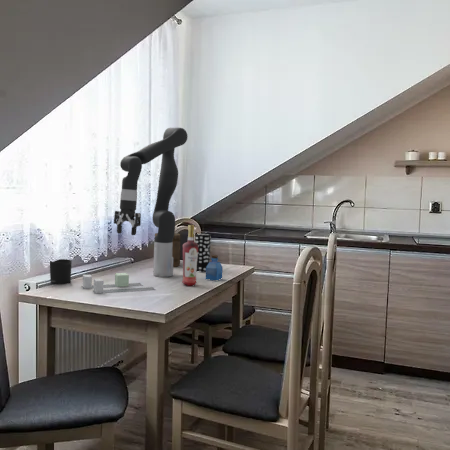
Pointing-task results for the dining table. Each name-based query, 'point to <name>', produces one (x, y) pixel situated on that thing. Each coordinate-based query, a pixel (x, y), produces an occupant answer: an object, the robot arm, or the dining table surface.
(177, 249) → the wooden container
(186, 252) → the liquor
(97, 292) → the strip
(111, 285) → the strip
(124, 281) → the block
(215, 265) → the perfume bottle
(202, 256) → the spotted tube
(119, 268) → the dining table surface
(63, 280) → the pen holder
